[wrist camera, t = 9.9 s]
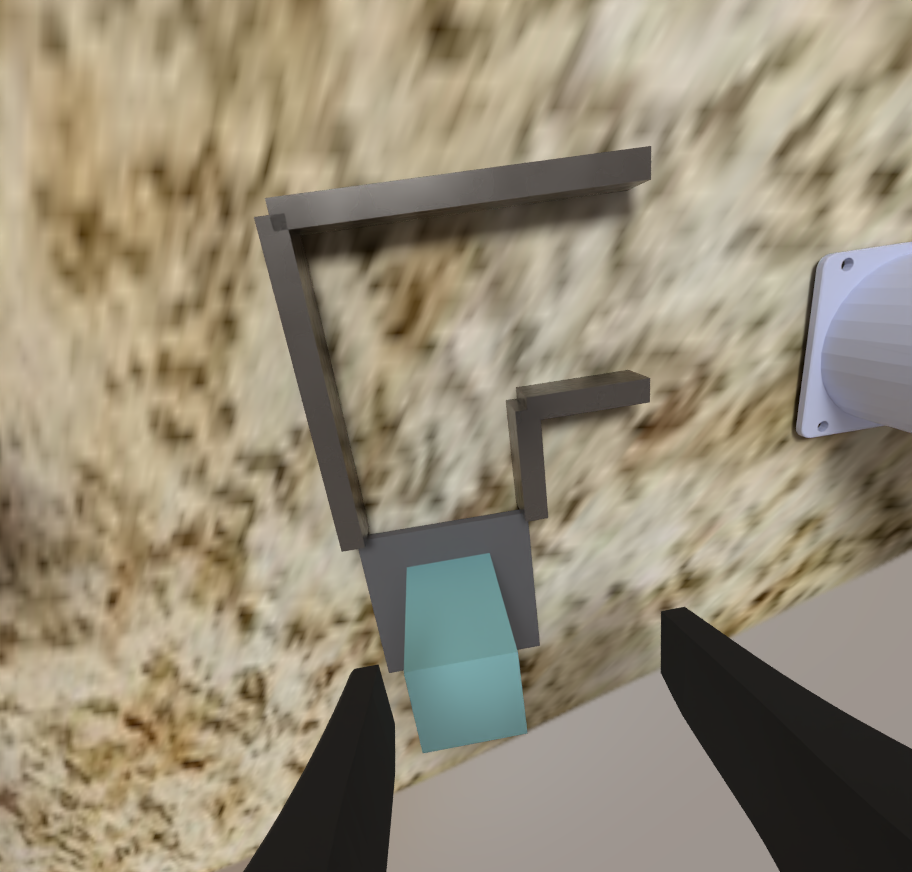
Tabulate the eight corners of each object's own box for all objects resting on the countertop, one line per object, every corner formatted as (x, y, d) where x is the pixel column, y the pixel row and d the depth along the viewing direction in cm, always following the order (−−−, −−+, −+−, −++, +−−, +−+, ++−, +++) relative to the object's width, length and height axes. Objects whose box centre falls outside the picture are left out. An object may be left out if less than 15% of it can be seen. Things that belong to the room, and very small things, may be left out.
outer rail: (624, 162, 17) (650, 145, 15) (626, 481, 21) (647, 500, 19) (269, 210, 16) (249, 200, 14) (348, 527, 20) (341, 551, 19)
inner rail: (626, 369, 19) (650, 377, 17) (627, 481, 21) (648, 500, 19) (503, 388, 19) (513, 399, 17) (515, 500, 21) (525, 521, 19)
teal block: (489, 552, 21) (517, 651, 15) (498, 619, 22) (527, 733, 16) (406, 567, 21) (403, 672, 15) (420, 633, 22) (422, 753, 16)
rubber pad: (525, 508, 21) (527, 512, 20) (537, 639, 23) (539, 645, 23) (357, 536, 20) (356, 541, 20) (389, 666, 23) (389, 672, 23)
